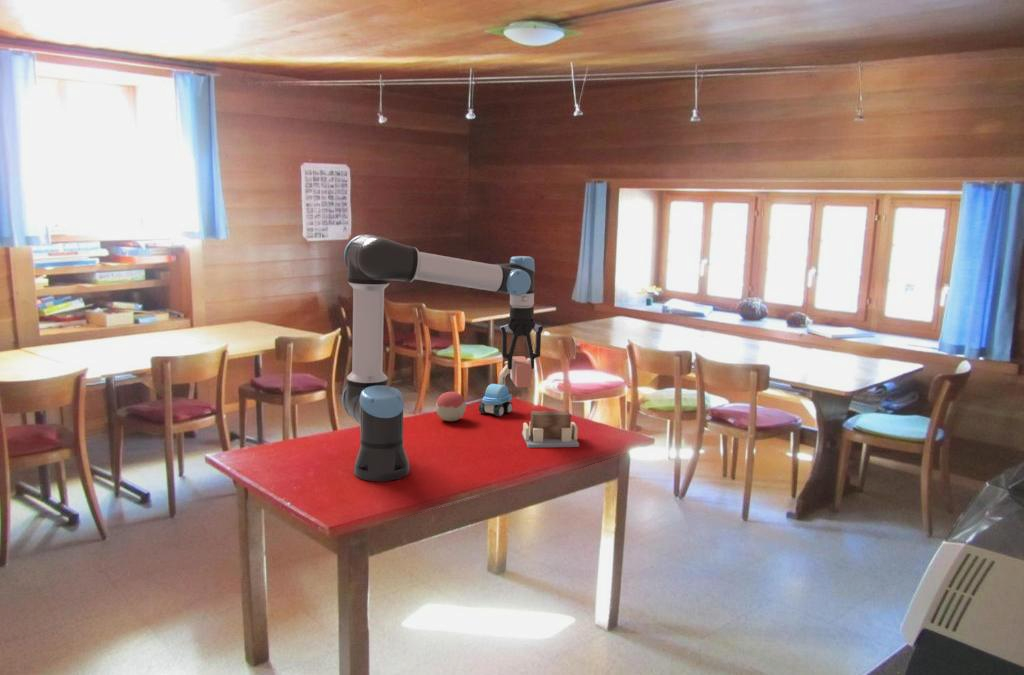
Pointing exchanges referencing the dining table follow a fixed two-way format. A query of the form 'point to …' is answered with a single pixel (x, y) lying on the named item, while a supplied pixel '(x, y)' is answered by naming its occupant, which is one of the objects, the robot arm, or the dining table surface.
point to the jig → (566, 439)
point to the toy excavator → (497, 396)
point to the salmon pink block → (521, 372)
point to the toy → (450, 406)
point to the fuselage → (550, 423)
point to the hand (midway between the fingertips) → (520, 378)
